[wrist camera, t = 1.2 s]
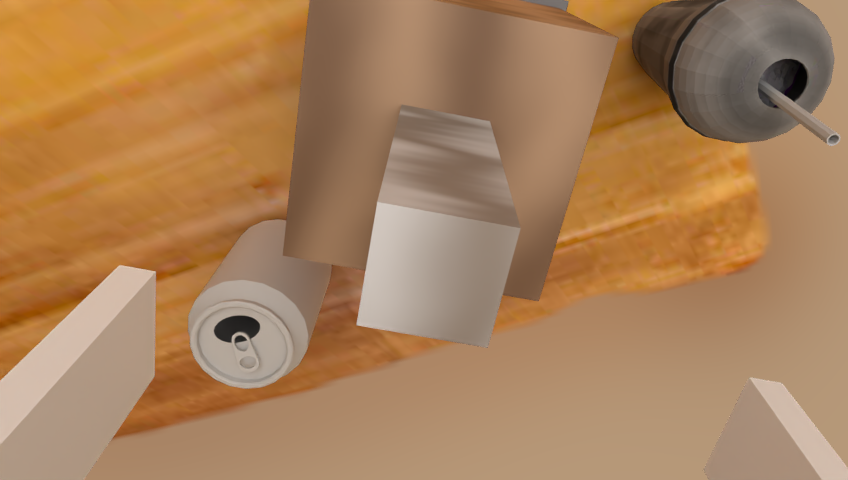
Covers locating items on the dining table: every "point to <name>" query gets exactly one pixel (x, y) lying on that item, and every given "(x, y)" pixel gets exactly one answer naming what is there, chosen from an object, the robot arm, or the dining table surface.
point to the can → (257, 310)
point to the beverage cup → (739, 65)
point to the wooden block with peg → (441, 152)
